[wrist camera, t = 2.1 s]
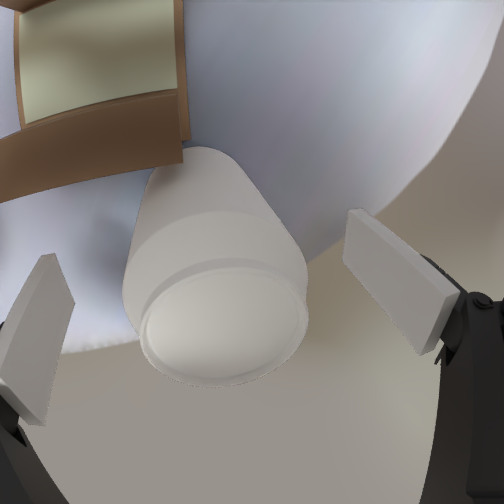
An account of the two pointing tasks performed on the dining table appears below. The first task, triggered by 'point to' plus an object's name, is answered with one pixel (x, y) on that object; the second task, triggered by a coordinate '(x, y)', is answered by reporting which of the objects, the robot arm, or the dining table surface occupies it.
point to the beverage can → (213, 275)
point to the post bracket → (94, 91)
